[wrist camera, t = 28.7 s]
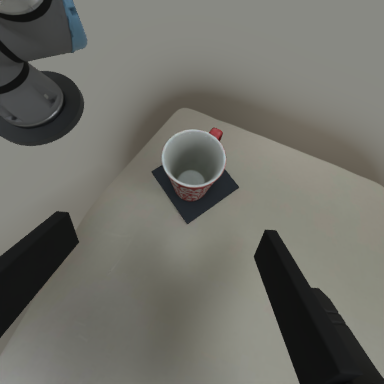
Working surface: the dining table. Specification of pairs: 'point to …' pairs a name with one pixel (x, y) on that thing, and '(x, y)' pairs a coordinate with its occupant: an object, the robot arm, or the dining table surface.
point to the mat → (196, 208)
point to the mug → (194, 161)
